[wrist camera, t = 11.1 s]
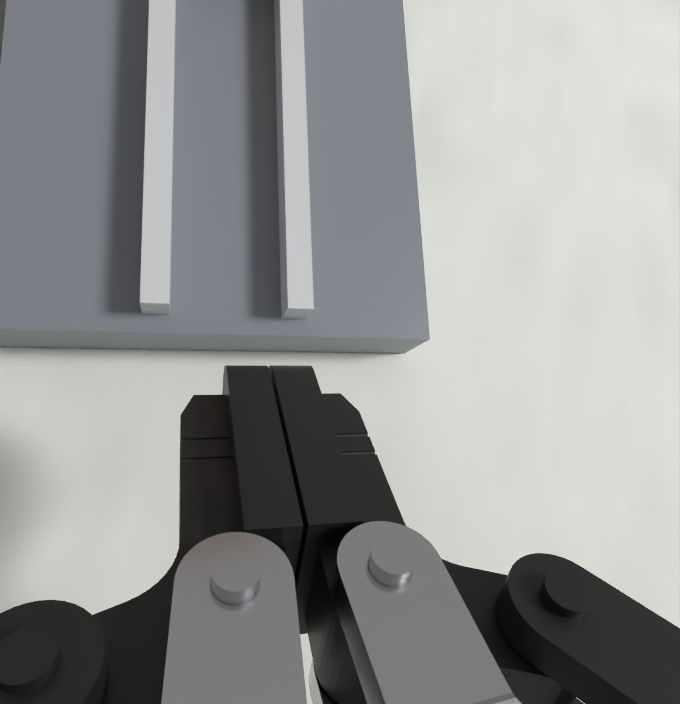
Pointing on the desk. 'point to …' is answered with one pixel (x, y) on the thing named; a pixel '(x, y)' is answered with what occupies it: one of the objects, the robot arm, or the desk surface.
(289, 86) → the fader console
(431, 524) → the desk surface
